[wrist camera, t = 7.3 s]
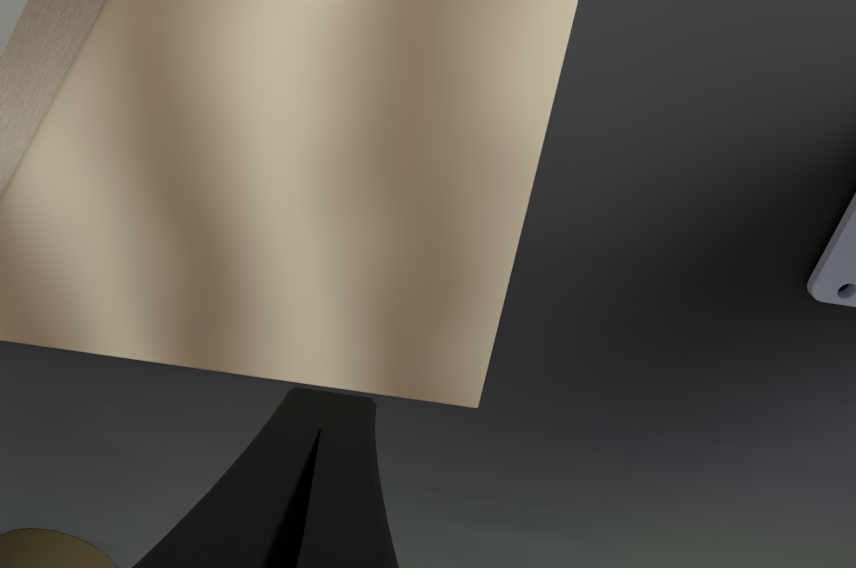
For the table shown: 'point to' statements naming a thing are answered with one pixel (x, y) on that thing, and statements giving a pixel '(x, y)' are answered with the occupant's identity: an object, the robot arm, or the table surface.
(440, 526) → the table surface
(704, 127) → the table surface
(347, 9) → the cracker board
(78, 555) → the pepper mill
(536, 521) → the table surface
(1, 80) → the lever
